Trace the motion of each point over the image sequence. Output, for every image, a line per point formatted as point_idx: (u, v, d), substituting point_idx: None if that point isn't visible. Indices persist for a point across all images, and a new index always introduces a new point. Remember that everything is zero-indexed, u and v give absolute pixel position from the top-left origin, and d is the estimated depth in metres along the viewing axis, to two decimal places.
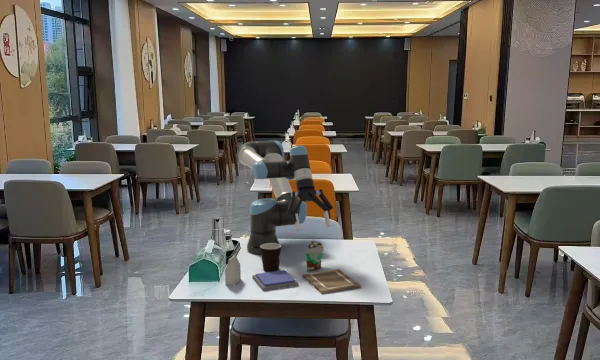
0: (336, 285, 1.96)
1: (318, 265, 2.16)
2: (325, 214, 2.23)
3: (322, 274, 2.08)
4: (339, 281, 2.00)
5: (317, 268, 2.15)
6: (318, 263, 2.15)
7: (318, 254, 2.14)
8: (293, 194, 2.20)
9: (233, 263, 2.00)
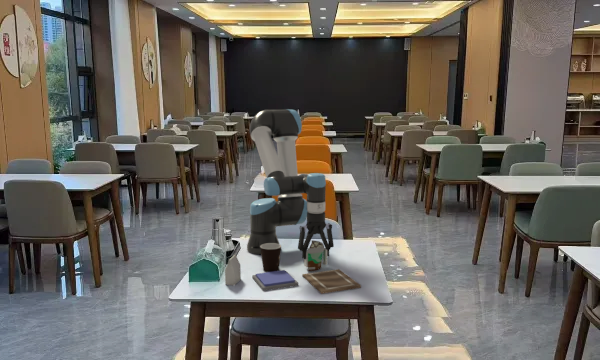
0: (336, 285, 1.96)
1: (319, 265, 2.16)
2: (324, 251, 2.18)
3: (322, 274, 2.08)
4: (339, 281, 2.00)
5: (318, 268, 2.16)
6: (319, 263, 2.15)
7: (319, 254, 2.14)
8: (302, 230, 2.12)
9: (233, 263, 2.00)
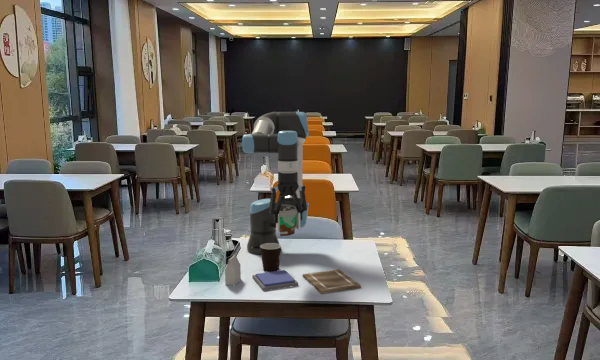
0: (336, 285, 1.96)
1: (292, 229, 2.01)
2: (297, 215, 2.04)
3: (322, 274, 2.08)
4: (339, 281, 2.00)
5: (291, 232, 2.01)
6: (292, 227, 2.01)
7: (292, 217, 2.00)
8: (273, 192, 1.98)
9: (233, 263, 2.00)
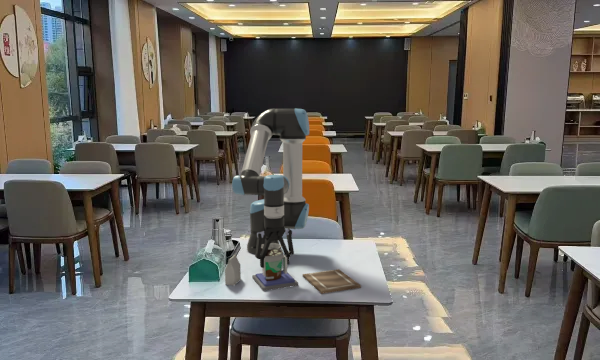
0: (336, 285, 1.96)
1: (278, 274, 2.00)
2: (284, 259, 2.02)
3: (322, 274, 2.08)
4: (339, 281, 2.00)
5: (277, 277, 1.99)
6: (278, 272, 1.99)
7: (278, 262, 1.98)
8: (259, 237, 1.96)
9: (233, 263, 2.00)
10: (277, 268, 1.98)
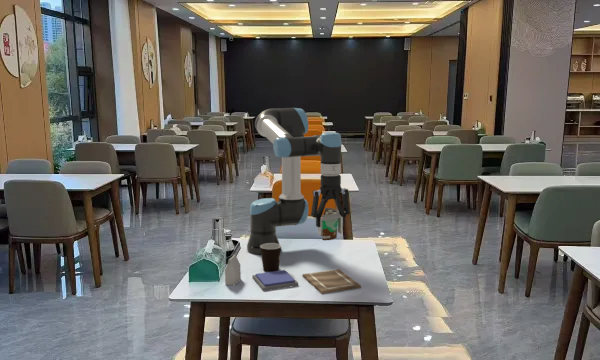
0: (336, 285, 1.96)
1: (334, 234, 1.96)
2: (339, 219, 1.99)
3: (322, 274, 2.08)
4: (339, 281, 2.00)
5: (333, 237, 1.96)
6: (334, 231, 1.96)
7: (335, 221, 1.95)
8: (316, 195, 1.93)
9: (233, 263, 2.00)
10: (334, 227, 1.95)
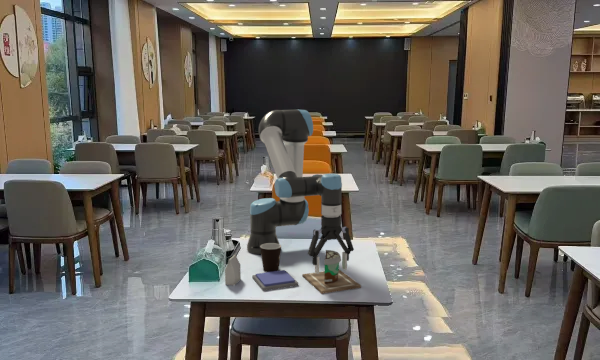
0: (336, 285, 1.96)
1: (336, 276, 2.00)
2: (343, 256, 2.02)
3: (322, 274, 2.08)
4: (339, 281, 2.00)
5: (335, 280, 1.99)
6: (336, 274, 1.99)
7: (336, 265, 1.98)
8: (316, 234, 1.96)
9: (233, 263, 2.00)
10: (335, 271, 1.98)
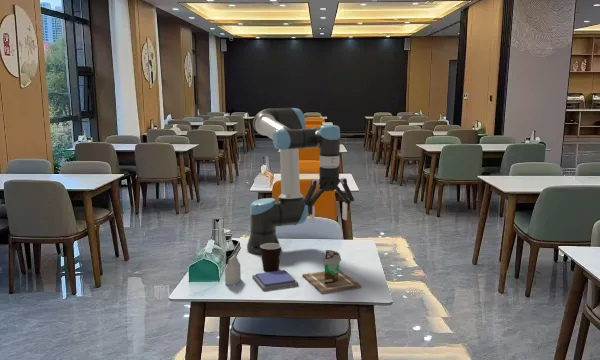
0: (336, 285, 1.96)
1: (336, 276, 2.00)
2: (344, 206, 2.03)
3: (322, 274, 2.08)
4: (339, 281, 2.00)
5: (335, 280, 1.99)
6: (336, 274, 1.99)
7: (336, 265, 1.98)
8: (314, 184, 1.96)
9: (233, 263, 2.00)
10: (335, 271, 1.98)
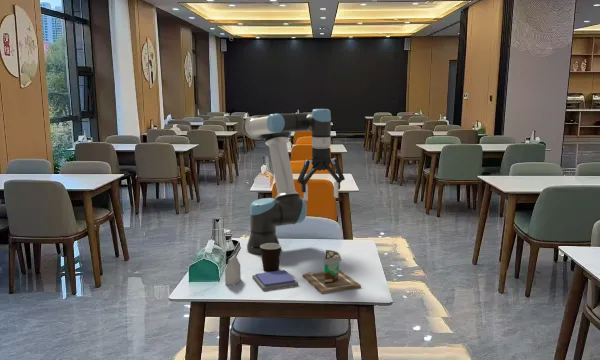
0: (336, 285, 1.96)
1: (336, 276, 2.00)
2: (335, 185, 2.17)
3: (322, 274, 2.08)
4: (339, 281, 2.00)
5: (335, 280, 1.99)
6: (336, 274, 1.99)
7: (336, 265, 1.98)
8: (307, 163, 2.10)
9: (233, 263, 2.00)
10: (335, 271, 1.98)
